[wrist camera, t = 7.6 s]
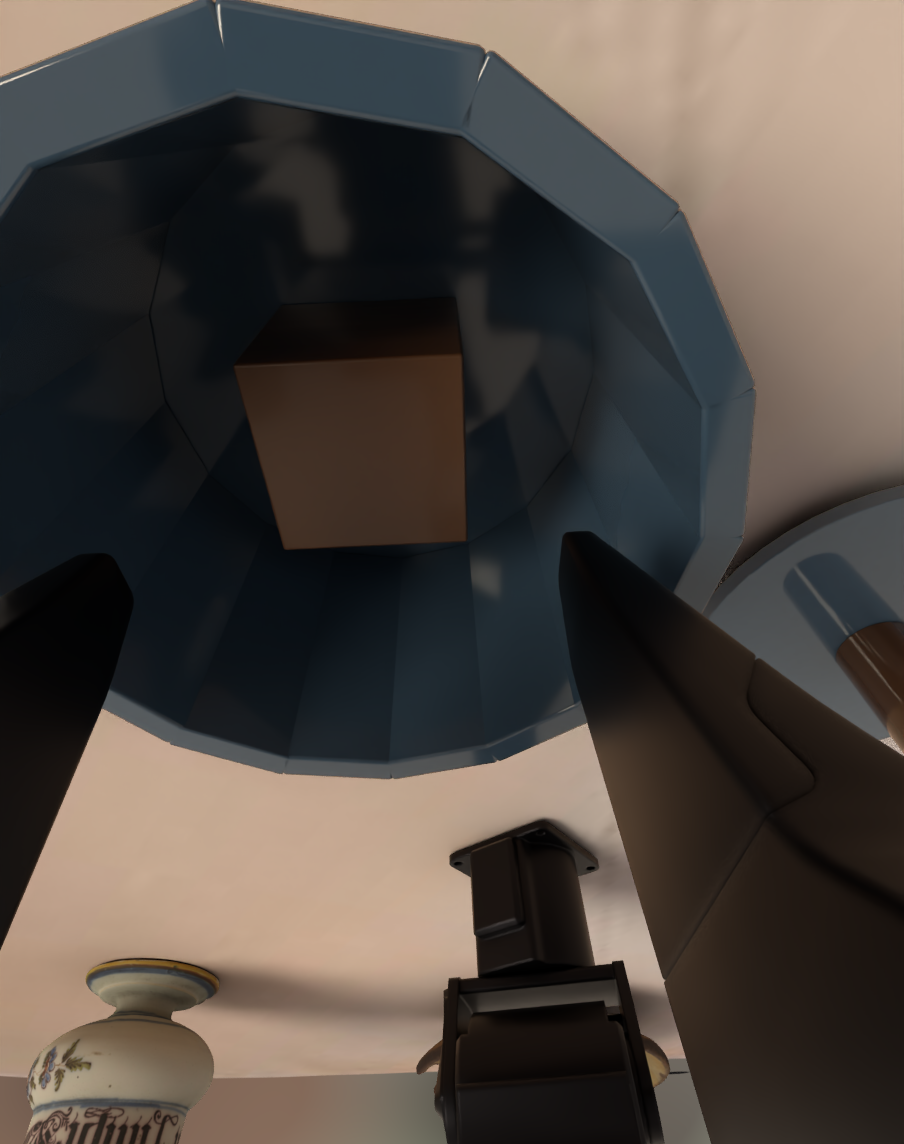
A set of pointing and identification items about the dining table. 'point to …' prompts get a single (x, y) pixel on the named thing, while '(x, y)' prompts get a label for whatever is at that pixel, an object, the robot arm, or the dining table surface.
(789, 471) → the dining table surface
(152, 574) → the pot
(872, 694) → the lid
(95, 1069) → the apothecary jar
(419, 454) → the block
